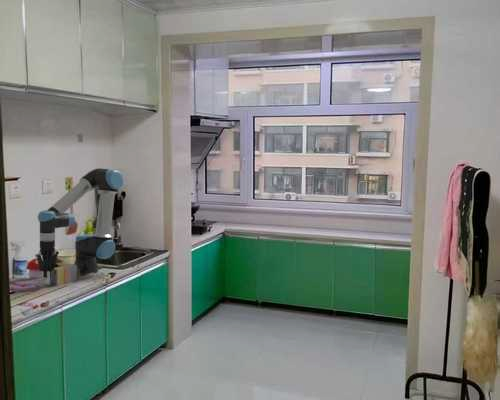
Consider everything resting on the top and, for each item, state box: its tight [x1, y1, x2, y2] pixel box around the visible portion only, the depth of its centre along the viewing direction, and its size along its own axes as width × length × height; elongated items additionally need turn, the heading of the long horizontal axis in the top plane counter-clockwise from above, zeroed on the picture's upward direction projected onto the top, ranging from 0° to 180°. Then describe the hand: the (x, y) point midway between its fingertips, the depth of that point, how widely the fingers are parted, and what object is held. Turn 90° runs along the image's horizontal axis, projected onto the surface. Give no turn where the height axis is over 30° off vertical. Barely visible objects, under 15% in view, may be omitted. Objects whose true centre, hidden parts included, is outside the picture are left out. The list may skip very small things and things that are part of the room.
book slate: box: [66, 263, 78, 283], centre depth 266 cm, size 4×5×9 cm
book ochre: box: [54, 266, 65, 286], centre depth 259 cm, size 4×5×9 cm
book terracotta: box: [59, 264, 72, 285], centre depth 263 cm, size 4×5×9 cm
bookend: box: [45, 269, 58, 288], centre depth 256 cm, size 4×5×9 cm
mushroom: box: [25, 258, 43, 280], centre depth 272 cm, size 11×11×12 cm
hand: (47, 283), depth 254 cm, fingers closed
